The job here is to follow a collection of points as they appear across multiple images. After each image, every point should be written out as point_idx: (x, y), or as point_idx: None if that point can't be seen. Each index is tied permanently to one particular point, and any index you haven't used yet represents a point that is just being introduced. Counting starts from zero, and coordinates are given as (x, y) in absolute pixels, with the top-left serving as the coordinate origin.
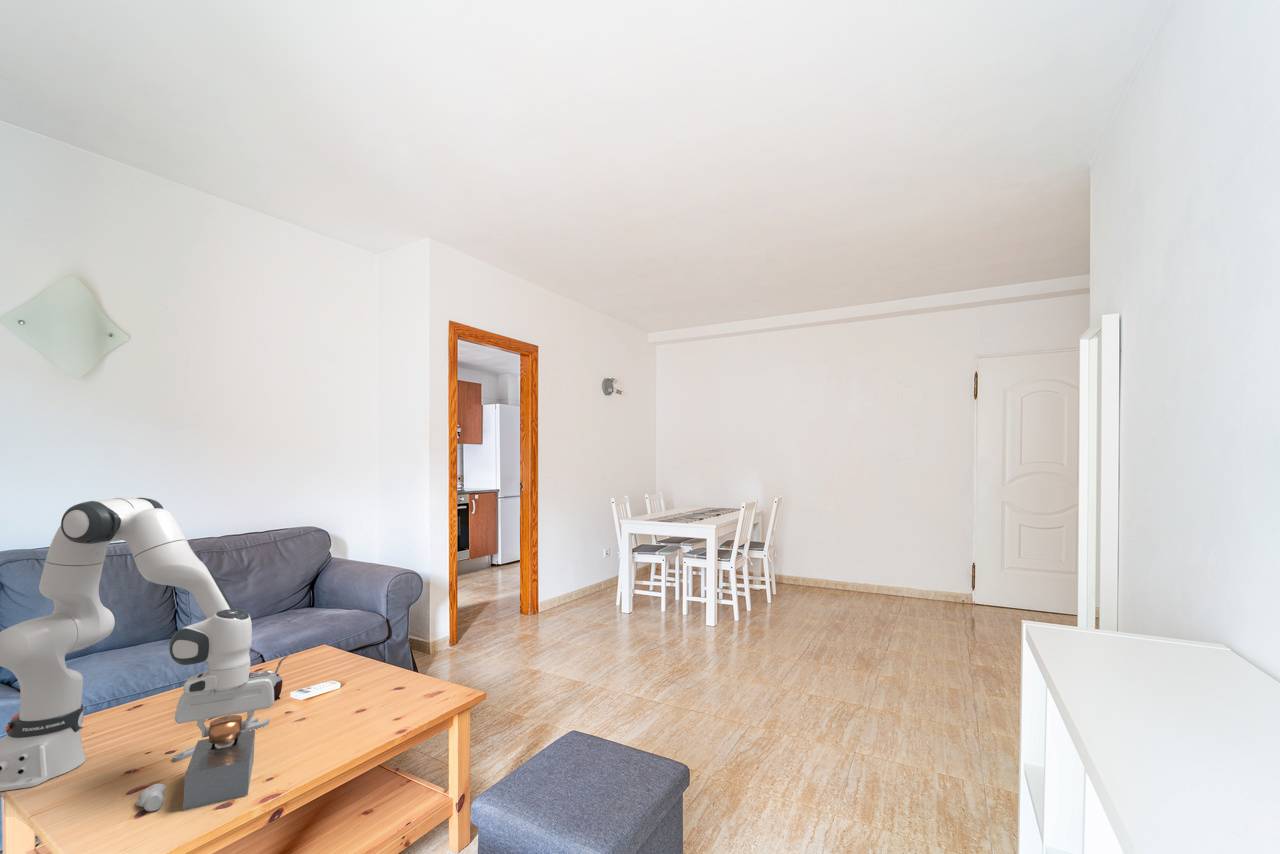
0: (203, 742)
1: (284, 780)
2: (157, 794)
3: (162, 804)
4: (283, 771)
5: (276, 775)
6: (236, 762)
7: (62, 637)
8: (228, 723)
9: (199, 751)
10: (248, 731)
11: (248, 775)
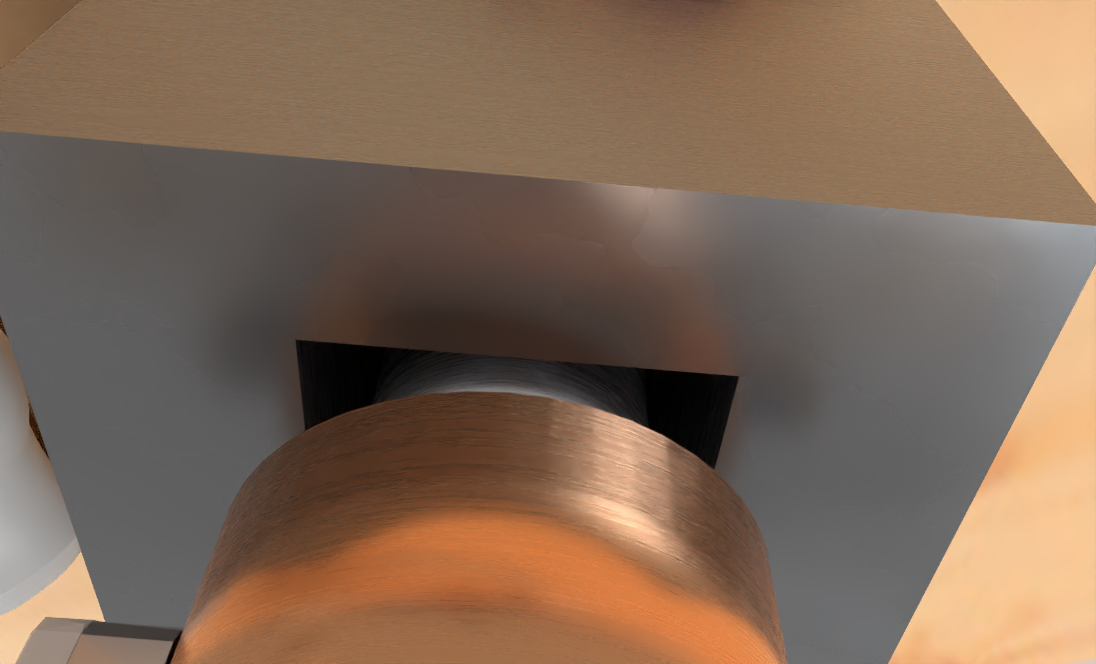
0: (108, 290)
1: (1012, 561)
2: (15, 602)
3: None
4: (1078, 424)
5: (995, 458)
6: None
7: None
8: None
9: (168, 576)
10: (964, 250)
11: None
